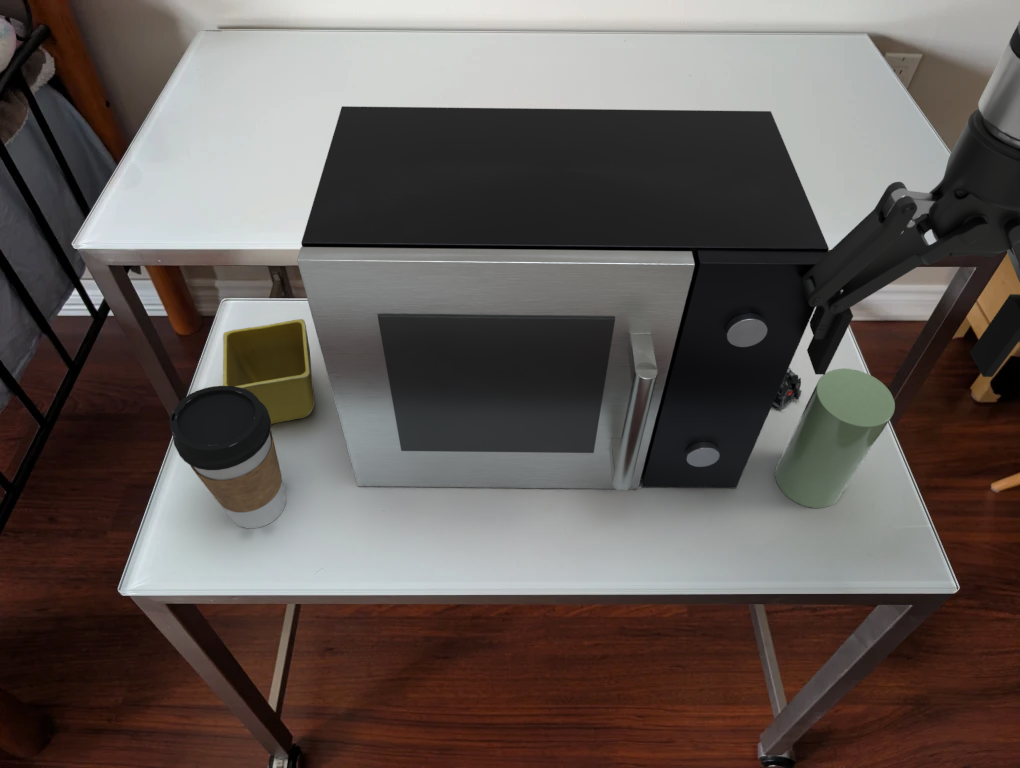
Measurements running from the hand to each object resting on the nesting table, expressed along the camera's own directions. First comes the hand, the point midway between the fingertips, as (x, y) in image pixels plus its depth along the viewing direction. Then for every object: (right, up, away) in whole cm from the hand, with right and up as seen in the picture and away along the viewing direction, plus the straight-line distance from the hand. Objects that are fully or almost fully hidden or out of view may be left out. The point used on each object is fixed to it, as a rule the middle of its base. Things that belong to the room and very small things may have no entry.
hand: (898, 363), depth 61 cm
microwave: (-28, -5, +24) cm, 37 cm away
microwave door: (-33, -14, +16) cm, 39 cm away
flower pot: (-58, -4, +25) cm, 63 cm away
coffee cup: (-58, -14, +16) cm, 62 cm away
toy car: (-1, 0, +29) cm, 29 cm away
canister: (0, -12, +19) cm, 22 cm away
